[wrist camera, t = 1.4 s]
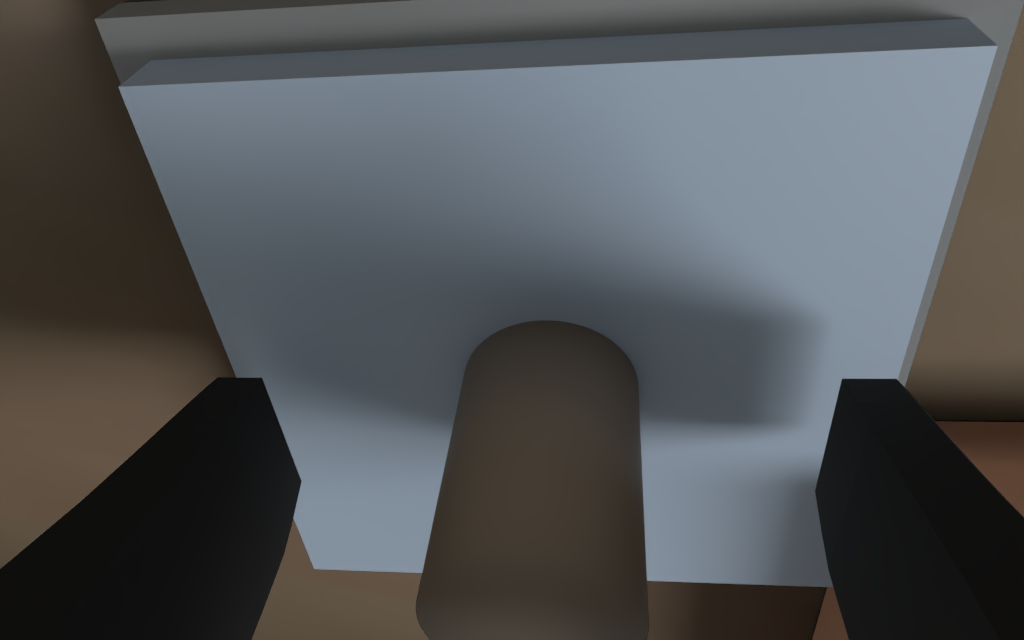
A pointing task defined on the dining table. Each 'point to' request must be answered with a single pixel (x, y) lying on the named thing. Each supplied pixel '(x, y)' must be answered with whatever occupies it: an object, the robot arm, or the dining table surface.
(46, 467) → the dining table surface
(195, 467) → the robot arm
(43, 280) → the dining table surface
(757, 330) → the lid
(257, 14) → the mat
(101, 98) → the dining table surface
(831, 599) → the orange open box
